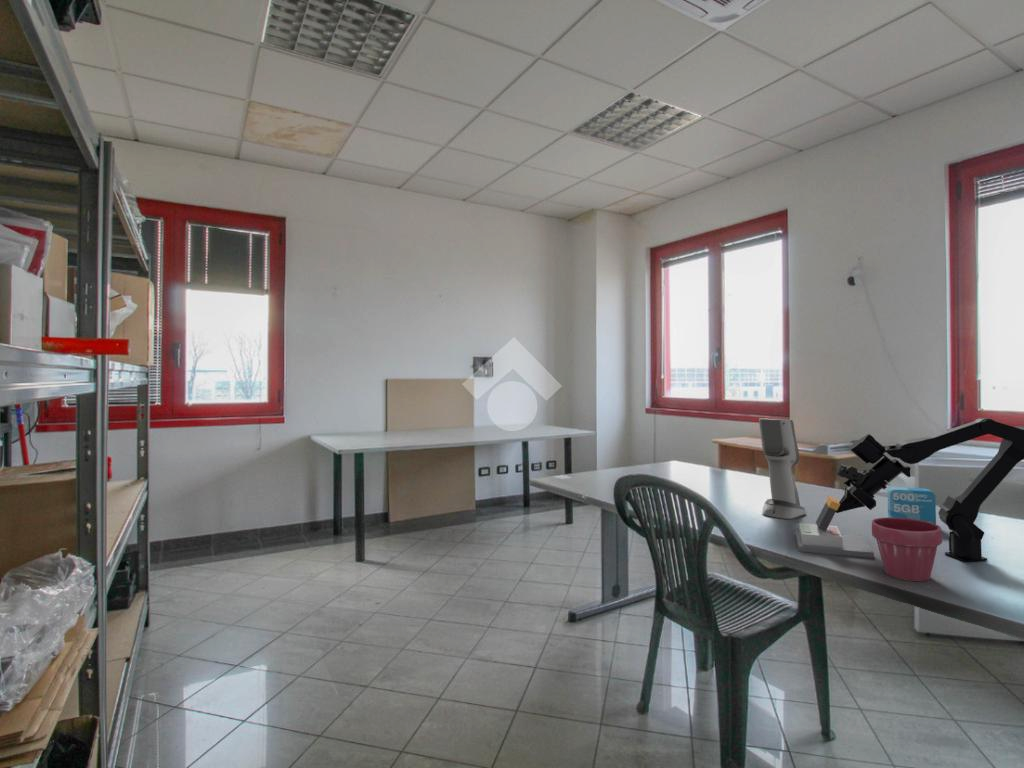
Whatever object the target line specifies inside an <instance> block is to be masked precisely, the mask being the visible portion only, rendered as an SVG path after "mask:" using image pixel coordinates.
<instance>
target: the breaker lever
mask: <svg viewBox="0 0 1024 768" xmlns="http://www.w3.org/2000/svg"><path fill="white" fill-rule="evenodd" d="M839 506H840V503H839V500H838V499H837V497H836V498H835V497H834V496H831V495H828V497H827V498H826V501H825V503H824V506H823V508H822V509H821V511H820V513H819V516H818V517H817V519H816V521H815V523H816V524H815V525H817V527H818V528H819V529H821V530H823V531H825V532H826V530H827V528H828V526H830V524H831V522H832V521H833V518H834V516H835V515H836V511H837V510H838V508H839Z"/></svg>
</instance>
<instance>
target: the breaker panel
mask: <svg viewBox="0 0 1024 768" xmlns="http://www.w3.org/2000/svg"><path fill="white" fill-rule="evenodd" d="M798 524H799V527H798V528H799V529H798V530H795V531H794V532H795V540H796V544H797V547H798V552H799V553H800V552H803V553H813V554H822V555H823V554H825V555H833V556H834V555H835V556H846V557H857V558H868V559H875V553H874V551H873V549H872V548H871V546H870V545H869V543H868V542H867V540H866V538H865V536H863V535H851V534H849V535H848V534H841V532H840V530H839V527H838V526H837V525H829V526H828V528H827V530H826V532H825V531H823V530H821V529H819V528H818V527H817V524H813V523H798Z"/></svg>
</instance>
